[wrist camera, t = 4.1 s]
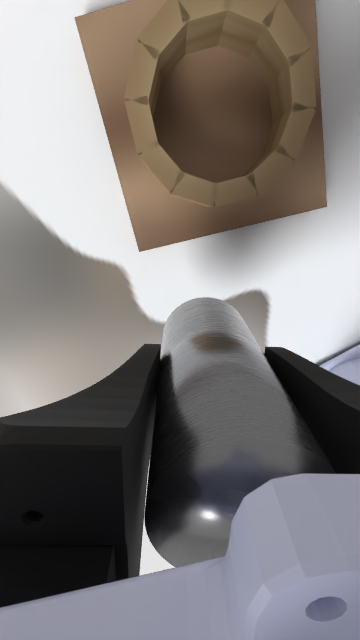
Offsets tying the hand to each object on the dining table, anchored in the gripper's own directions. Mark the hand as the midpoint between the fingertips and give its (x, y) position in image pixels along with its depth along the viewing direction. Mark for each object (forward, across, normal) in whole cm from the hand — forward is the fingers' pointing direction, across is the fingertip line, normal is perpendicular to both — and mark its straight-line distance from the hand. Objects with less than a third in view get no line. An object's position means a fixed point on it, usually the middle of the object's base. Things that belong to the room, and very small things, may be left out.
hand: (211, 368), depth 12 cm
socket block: (+9, 0, -10) cm, 13 cm away
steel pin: (+3, 0, 0) cm, 3 cm away
